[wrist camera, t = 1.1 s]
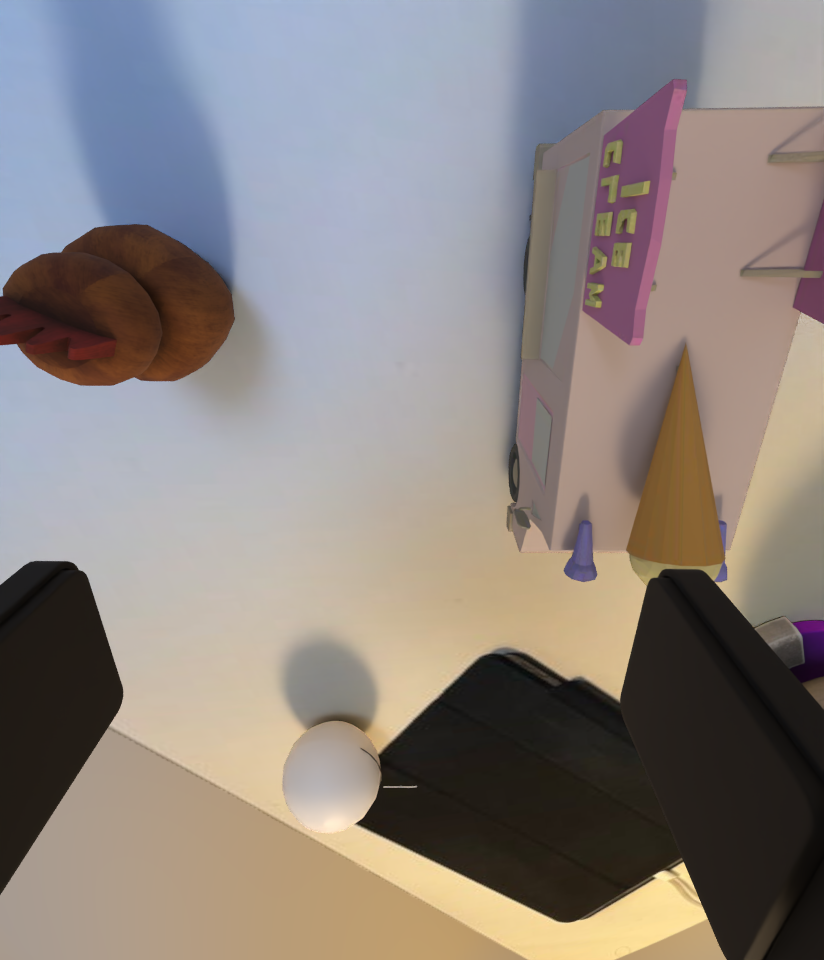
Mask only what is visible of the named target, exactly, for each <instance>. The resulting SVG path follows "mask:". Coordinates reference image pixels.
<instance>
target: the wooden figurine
mask: <svg viewBox="0 0 824 960" xmlns="http://www.w3.org/2000/svg"><path fill="white" fill-rule="evenodd" d="M234 320H235V317H234V309H233V301H232V294H231V293H230V291H229V289H228V288H227V286H226V285H225V283H224V281H223V280H222V278H221V277H220V276H219V274H218V273H217V272H216V271H215V270H214V269H213V268H212V266H211V265H210V264H209V263H208V262H206V261H205V260H203V259H202V258H201V257H199V256H198V255H197V254H196V253H194V252H193V251H192V250H191V249H189V248H188V247H187V246H185V245H184V244H182V243H180V242H179V241H177V240H175V239H173V238H171V237H169V236H167V235H165V234H164V233H162V232H160V231H158V230H156V229H154V228H152V227H150V226H148V225H139V224H132V225H116V226H104V227H97V228H94V229H92V230H91V231H89V232H87V233H86V234H84V235H83V236H81V237H80V238H78V239H76V240H75V241H73V242H72V243H70V244H69V245H67V246H66V247H65V248H64V249H63V251H62V252H61V253H48V254H42V255H40V256H38V257H36V258H34V259H32V260H31V261H29V262H27V263H25V264H23V265H22V266H20V267H19V268H18V269H17V270H15V271H14V272H13V274H12V275H11V277H10V278H9V280H8V281H7V283H6V284H5V286H4V287H3V296H2V297H0V345H9V344H17V345H18V347H19V348H20V349H21V351H22V352H23V353H24V354H25V355H26V356H27V357H28V358H29V359H30V360H31V361H32V362H33V363H34V364H35V365H36V366H37V367H38V368H40V369H42V370H44V371H46V372H48V373H49V374H51V375H53V376H55V377H57V378H59V379H61V380H64V381H68V382H71V383H75V384H78V385H86V386H110V385H115V384H118V383H121V382H123V381H126V380H128V379H130V378H133V377H135V378H137V379H139V380H143V381H176V380H178V379H181V378H183V377H185V376H187V375H189V374H191V373H192V372H194V371H196V370H198V369H199V368H201V367H203V366H204V365H205V364H206V363H207V362H209V361H210V360H211V358H212V357H213V356H214V354H215V353H216V352H217V351H218V349H219V348H220V347H221V346H222V344H223V343H224V341H225V340H226V338H227V336H228V334H229V331H230V329H231V327H232V325H233V322H234Z"/></svg>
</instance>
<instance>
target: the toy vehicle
mask: <svg viewBox="0 0 824 960" xmlns="http://www.w3.org/2000/svg"><path fill="white" fill-rule="evenodd" d="M686 92H687V80H684V79H673V80H672V81H670V82H669V83H668V84H667V85H665V86H664V87H663V88H662V89H660V90H659V91H658V92H657V93H656V94H654V95H653V96H652V97H651V98H649V99H648V100H647V101H646V102H644V103H643V104H642V105H641V106H640V107H638V108H637V109H636V110H603V111H601V112H600V113H599V114H597V115H596V116H594V117H593V118H592V119H590V120H589V121H587V122H586V123H585V124H583V125H582V126H581V127H579V128H578V129H576V130H575V131H574V132H572V133H571V134H569V135H568V136H567V137H565V138H564V139H562V140H561V141H560V142H558V143H556V144H539V145H538V146H537V147H536V151H535V163H534V176H533V180H534V191H533V204H532V215H530V221H531V231H530V236H529V239H528V242H527V247H526V253H525V261H524V291H525V310H524V323H523V336H522V349H521V359H522V369H521V381H520V394H519V406H518V419H517V431H516V443H517V444H515V445H514V446H513V448H512V450H511V453H510V459H509V487H510V494H511V496H512V499H513V500H514V502H516V503H511V506H508V510H507V528H508V531H513V533H514V536H515V539H516V542H517V545H518V548H519V552H520V553H573V554H572V557H571V558H570V559H569V561H568V562H567V564H566V566H565V568H564V572H565V574H566V575H567V576H568V577H570V578H571V579H574V580H578V581H582V582H586V581H591V580H595V578H596V576H597V571H596V567H595V565H594V562H593V553H629V554H630V562H631V565H632V568H633V570H634V571H635V573H636V574H637V575H638V576H639V578H640V579H641V580H642V581H643V583H644V584H645V585H648V582H649V580H650V579H651V578H658V576H659V574H660V572H661V571H662V570H664V569H700V570H703V571H704V572H706V573H707V574H708V575H709V576H710V578H711V579H712V580H713V581H714V582H722V581H725V580H727V566H726V564H725V550H730V548H731V545H732V542H733V538H734V535H735V531H736V528H737V525H738V521H739V518H740V515H741V511H742V508H743V505H744V501H745V498H746V494H747V491H748V488H749V484H750V481H751V478H752V474H753V471H754V467H755V464H756V461H757V457H758V454H759V451H760V447H761V444H762V441H763V437H764V434H765V430H766V427H767V424H768V420H769V417H770V414H771V410H772V407H773V404H774V400H775V397H776V393H777V390H778V387H779V383H780V380H781V377H782V373H783V370H784V367H785V363H786V360H787V356H788V353H789V350H790V346H791V343H792V340H793V336H794V333H795V330H796V326H797V323H798V319H799V316H800V313H801V312H802V313H804V314H806V315H808V316H810V317H812V318H814V319H816V320H817V321H819V322H821V323H823V324H824V107H769V108H707V109H682V108H683V104H684V100H685V96H686Z"/></svg>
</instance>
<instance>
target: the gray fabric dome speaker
mask: <svg viewBox="0 0 824 960" xmlns="http://www.w3.org/2000/svg"><path fill="white" fill-rule="evenodd" d="M754 629H755V630H756V631H757V632H758V633H759V635H760V636H761V637H762V638H763V639H764V640H765V642H766V643H767V644H768V645H769V646H770V647H771V649H772V650H773V651H774V652H775V653H776V654H777V656H778V657H779V658H780V659H781V660H782V661H783V663H784V664H785V665H786V666H787V667H788V668H789V669H790V671H791V672H792V673H793V674H794V675H795V676H796V678H797V679H798V680H799V681H800V682H801V683H802V685H803V686H804V687H805V688H806V689H807V690H808V692H809V693H810V694H811V695H812V696H813V697H814V699H815V700H816V701H817V702H818V703H819V704H820V706H821V707H822V708H823V709H824V621H802V622H796V623H791V622H790V621H789V620H788V619H787V617H786V616H784V617H781V618H778V619H775V620H772V621H769V622H766V623H764V624H762V625H760V626H758V627H756V628H754Z"/></svg>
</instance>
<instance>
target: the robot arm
mask: <svg viewBox="0 0 824 960" xmlns="http://www.w3.org/2000/svg"><path fill="white" fill-rule="evenodd" d="M122 699H123V687H122V684H121V681H120V677H119V674H118V671H117V668H116V665H115V662H114V659H113V655H112V652H111V649H110V646H109V643H108V640H107V637H106V633H105V630H104V627H103V624H102V621H101V618H100V615H99V611H98V608H97V605H96V602H95V599H94V596H93V593H92V589H91V586H90V583H89V580H88V577H87V575H86V574H85V573H84V572H83V571H80V570H78V568H77V566H76V565H75V564H74V563H71V562H68V561H34V562H29V563H28V564H26V565H24V566H23V567H22V568H21V569H19V570H18V571H17V572H16V573H15V574H13V575H12V576H11V577H10V578H8V579H7V580H6V581H5V582H4V583H2V584H1V585H0V894H1V893H2V891H3V890H4V888H5V887H6V885H7V884H8V882H9V881H10V879H11V877H12V876H13V874H14V873H15V871H16V870H17V868H18V867H19V865H20V863H21V862H22V860H23V859H24V857H25V856H26V854H27V853H28V851H29V849H30V848H31V846H32V845H33V843H34V842H35V840H36V839H37V837H38V835H39V834H40V832H41V831H42V829H43V827H44V826H45V824H46V823H47V821H48V820H49V818H50V817H51V815H52V814H53V812H54V811H55V809H56V807H57V806H58V804H59V803H60V801H61V799H62V798H63V796H64V795H65V793H66V792H67V790H68V789H69V787H70V785H71V784H72V783H73V781H74V779H75V778H76V776H77V774H78V773H79V772H80V770H81V769H82V767H83V765H84V764H85V762H86V761H87V759H88V757H89V756H90V755H91V753H92V751H93V750H94V748H95V747H96V745H97V744H98V742H99V741H100V739H101V737H102V736H103V734H104V733H105V731H106V730H107V728H108V727H109V725H110V723H111V722H112V720H113V719H114V717H115V716H116V714H117V713H118V711H119V709H120V706H121V704H122ZM620 705H621V712H622V716H623V719H624V722H625V724H626V726H627V729H628V731H629V733H630V736H631V738H632V741H633V743H634V745H635V748H636V750H637V752H638V755H639V757H640V759H641V762H642V764H643V767H644V769H645V771H646V774H647V776H648V778H649V781H650V783H651V785H652V788H653V790H654V793H655V795H656V797H657V800H658V802H659V804H660V807H661V809H662V811H663V814H664V816H665V818H666V821H667V823H668V826H669V828H670V830H671V833H672V835H673V837H674V840H675V842H676V844H677V847H678V849H679V852H680V854H681V856H682V859H683V861H684V863H685V866H686V868H687V870H688V873H689V875H690V878H691V880H692V882H693V885H694V887H695V889H696V892H697V894H698V896H699V899H700V901H701V903H702V906H703V908H704V911H705V913H706V915H707V918H708V920H709V922H710V925H711V927H712V929H713V932H714V934H715V937H716V939H717V941H718V943H719V946H720V948H721V950H722V952H723V954H724V956H725V957H726V959H727V960H824V709H823V708H822V707H821V706H820V704H819V703H818V702H817V701H816V700H815V699H814V697H813V696H812V695H811V694H810V693H809V692H808V690H807V689H806V688H805V687H804V686H803V685H802V683H801V682H800V681H799V680H798V679H797V678H796V676H795V675H794V674H793V673H792V672H791V671H790V669H789V668H788V667H787V666H786V665H785V664H784V663H783V661H782V660H781V659H780V658H779V657H778V656H777V654H776V653H775V652H774V651H773V650H772V649H771V647H770V646H769V645H768V644H767V643H766V642H765V640H764V639H763V638H762V637H761V636H760V635H759V633H758V632H757V631H756V630H755V629H754V628H753V626H752V625H751V624H750V623H749V622H748V621H747V619H746V618H745V617H744V616H743V615H742V614H741V613H740V611H739V610H738V609H737V608H736V607H735V606H734V604H733V603H732V602H731V601H730V600H729V599H728V597H727V596H726V595H725V594H724V593H723V592H722V590H721V589H720V588H719V587H718V586H717V585H716V583H715V582H714V581H713V580H712V579H711V578H710V576H709V575H708V574H707V573H706V572H704V571H703V570H700V569H664V570H662V571H661V572H660V574H659V576H658V578H651V579H650V580H649V582H648V585H647V589H646V593H645V597H644V601H643V605H642V609H641V614H640V618H639V622H638V626H637V630H636V634H635V639H634V643H633V647H632V651H631V655H630V659H629V663H628V668H627V672H626V676H625V680H624V684H623V688H622V692H621V698H620Z"/></svg>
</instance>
